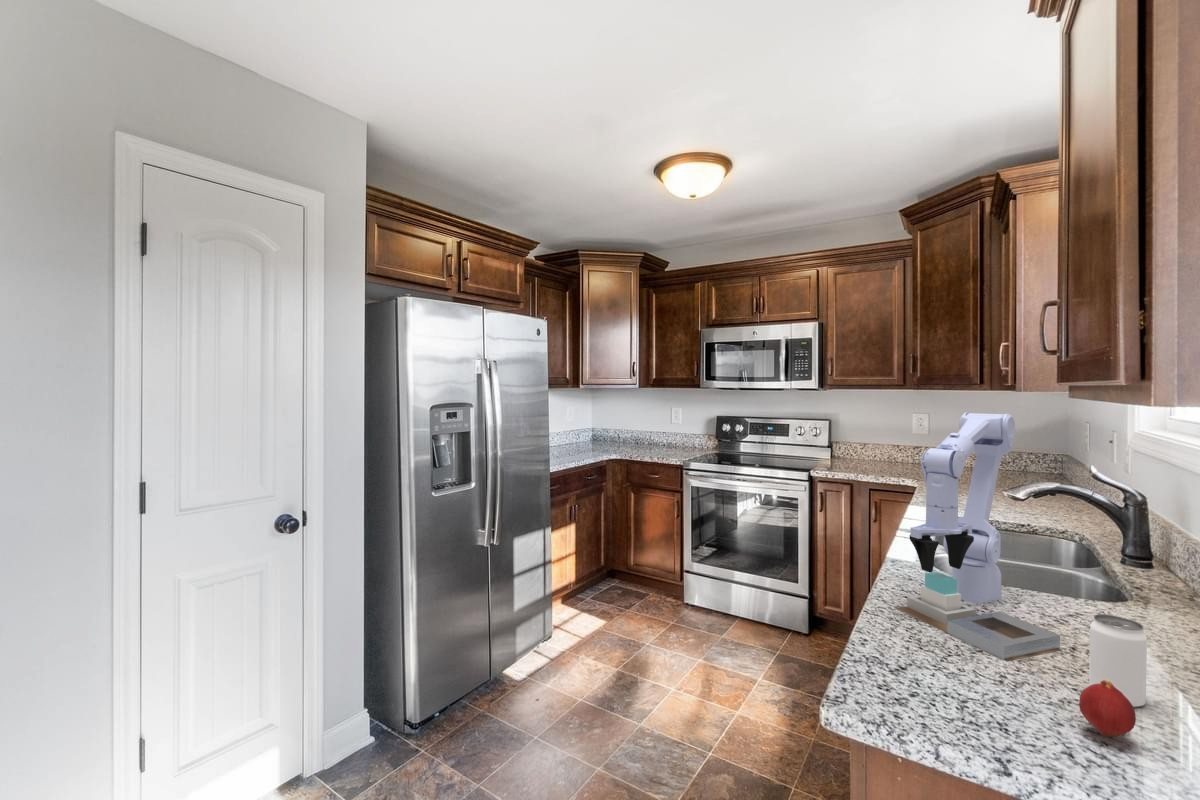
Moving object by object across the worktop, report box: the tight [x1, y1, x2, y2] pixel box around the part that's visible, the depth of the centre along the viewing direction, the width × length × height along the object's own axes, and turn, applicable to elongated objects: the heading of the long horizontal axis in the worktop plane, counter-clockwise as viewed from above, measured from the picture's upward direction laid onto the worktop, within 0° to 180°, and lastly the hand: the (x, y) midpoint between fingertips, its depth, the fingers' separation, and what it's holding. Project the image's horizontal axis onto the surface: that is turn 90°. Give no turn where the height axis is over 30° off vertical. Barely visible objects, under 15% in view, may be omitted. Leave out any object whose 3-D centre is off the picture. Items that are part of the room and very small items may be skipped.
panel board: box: [895, 605, 1063, 667], centre depth 108 cm, size 14×24×1 cm, turn 17°
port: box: [946, 611, 1061, 661], centre depth 102 cm, size 14×11×2 cm
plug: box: [920, 571, 962, 612], centre depth 114 cm, size 4×6×8 cm, turn 17°
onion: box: [1078, 680, 1137, 738], centre depth 75 cm, size 6×6×8 cm
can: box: [1088, 613, 1148, 709], centre depth 85 cm, size 6×6×12 cm
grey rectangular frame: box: [906, 594, 977, 625], centre depth 114 cm, size 8×10×2 cm
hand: (941, 569), depth 114 cm, fingers open, 7 cm apart
